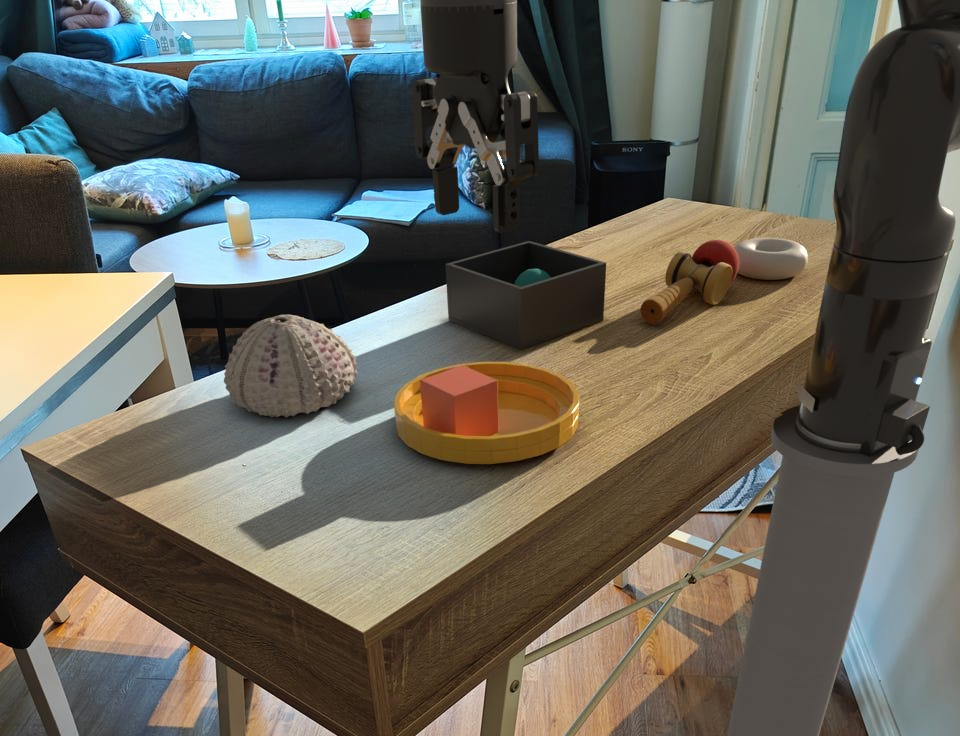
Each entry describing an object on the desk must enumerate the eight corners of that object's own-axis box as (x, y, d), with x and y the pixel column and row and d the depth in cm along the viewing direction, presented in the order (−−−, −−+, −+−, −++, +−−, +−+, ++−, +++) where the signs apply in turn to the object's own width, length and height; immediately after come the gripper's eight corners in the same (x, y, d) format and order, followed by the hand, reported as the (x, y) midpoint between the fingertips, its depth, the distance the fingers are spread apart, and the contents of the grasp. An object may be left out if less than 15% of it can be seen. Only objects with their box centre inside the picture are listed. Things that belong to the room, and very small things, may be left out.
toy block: (498, 431, 83) (497, 380, 79) (456, 449, 80) (453, 396, 77) (464, 415, 86) (462, 364, 83) (423, 431, 83) (419, 379, 80)
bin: (603, 320, 106) (606, 262, 102) (521, 349, 100) (520, 289, 96) (529, 295, 114) (529, 240, 110) (448, 320, 108) (445, 263, 104)
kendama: (686, 342, 103) (756, 279, 112) (679, 288, 99) (753, 227, 108) (629, 340, 108) (701, 280, 117) (620, 289, 104) (696, 230, 113)
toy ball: (563, 312, 107) (564, 269, 104) (532, 323, 105) (532, 279, 102) (535, 302, 110) (535, 260, 107) (505, 313, 108) (503, 270, 105)
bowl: (616, 428, 84) (618, 397, 82) (475, 490, 75) (473, 458, 74) (497, 376, 94) (496, 348, 92) (361, 425, 86) (358, 396, 84)
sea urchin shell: (386, 394, 91) (377, 316, 86) (276, 439, 84) (260, 356, 79) (309, 362, 99) (298, 288, 94) (202, 400, 92) (184, 322, 87)
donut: (731, 259, 124) (723, 280, 116) (735, 233, 121) (727, 252, 114) (807, 264, 121) (803, 285, 113) (812, 236, 119) (809, 256, 111)
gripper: (378, -1, 72) (396, 215, 82) (487, 4, 63) (492, 246, 73) (452, -8, 75) (461, 201, 85) (566, -4, 66) (561, 229, 77)
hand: (476, 222), depth 79 cm, fingers open, 8 cm apart
